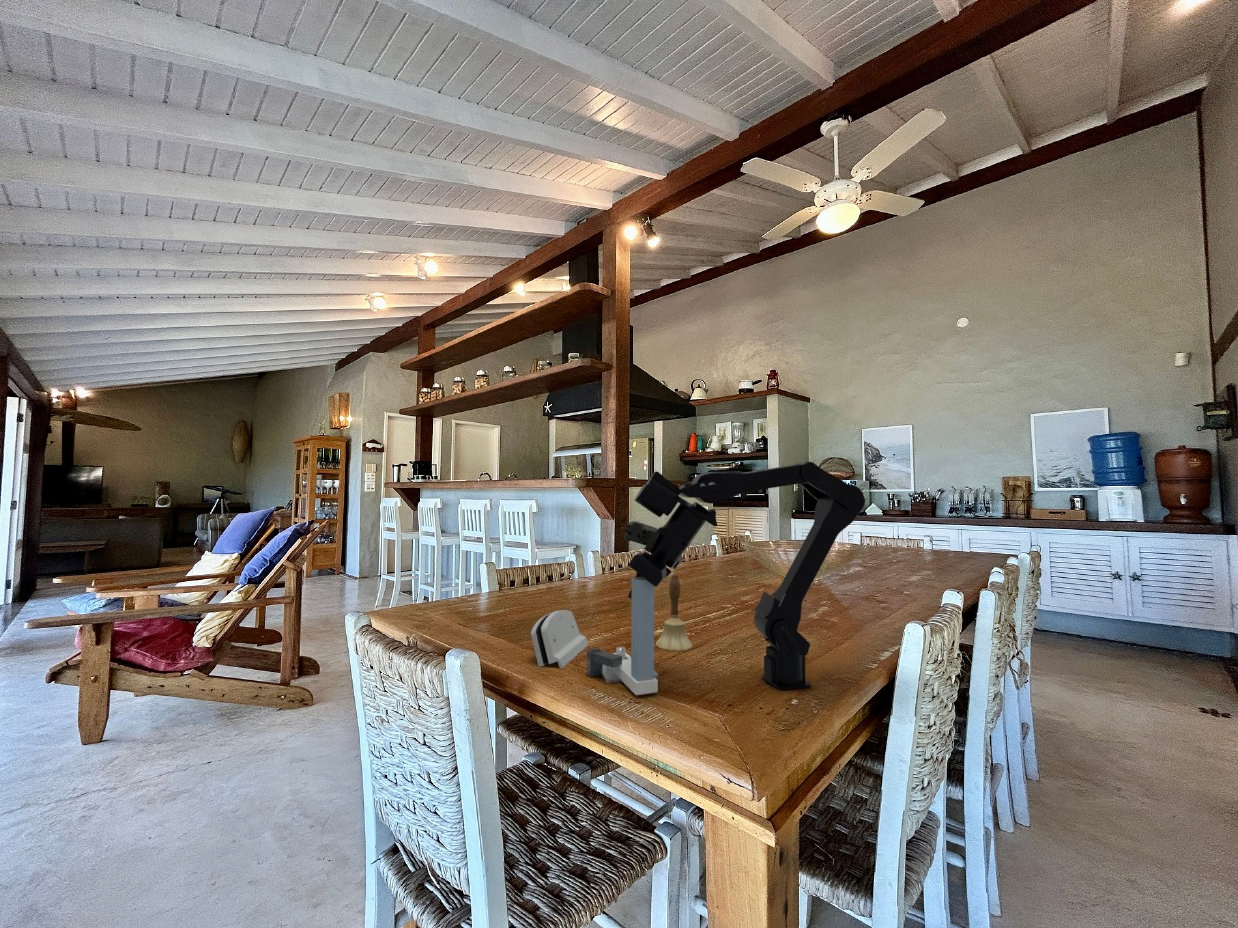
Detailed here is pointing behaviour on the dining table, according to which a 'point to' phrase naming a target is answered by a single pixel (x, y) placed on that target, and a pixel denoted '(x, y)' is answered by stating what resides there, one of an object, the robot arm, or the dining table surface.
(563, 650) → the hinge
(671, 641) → the hand bell
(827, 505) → the robot arm
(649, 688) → the link
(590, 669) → the pintle block
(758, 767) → the dining table surface
